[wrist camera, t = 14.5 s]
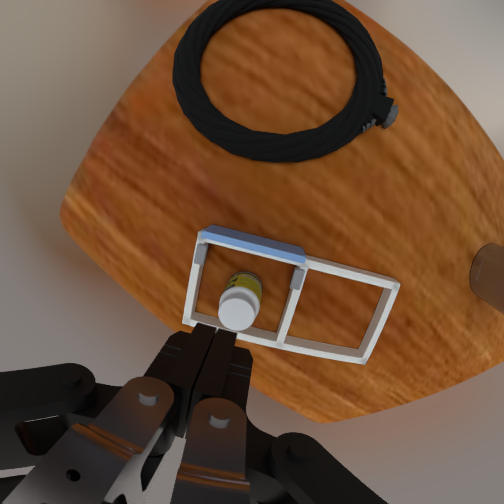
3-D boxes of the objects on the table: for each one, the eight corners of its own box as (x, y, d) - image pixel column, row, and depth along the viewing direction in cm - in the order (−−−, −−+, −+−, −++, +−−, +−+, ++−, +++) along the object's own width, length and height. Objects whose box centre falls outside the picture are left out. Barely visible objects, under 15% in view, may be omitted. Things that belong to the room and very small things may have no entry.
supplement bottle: (237, 264, 38) (226, 286, 29) (268, 280, 38) (266, 306, 30) (221, 294, 39) (208, 322, 30) (252, 309, 39) (246, 340, 31)
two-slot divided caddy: (395, 272, 36) (410, 284, 31) (361, 355, 39) (369, 374, 34) (204, 222, 37) (193, 228, 32) (187, 315, 40) (176, 331, 35)
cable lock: (227, -34, 24) (424, 42, 25) (231, -21, 28) (413, 52, 28) (133, 115, 31) (355, 213, 31) (145, 120, 34) (347, 210, 35)
